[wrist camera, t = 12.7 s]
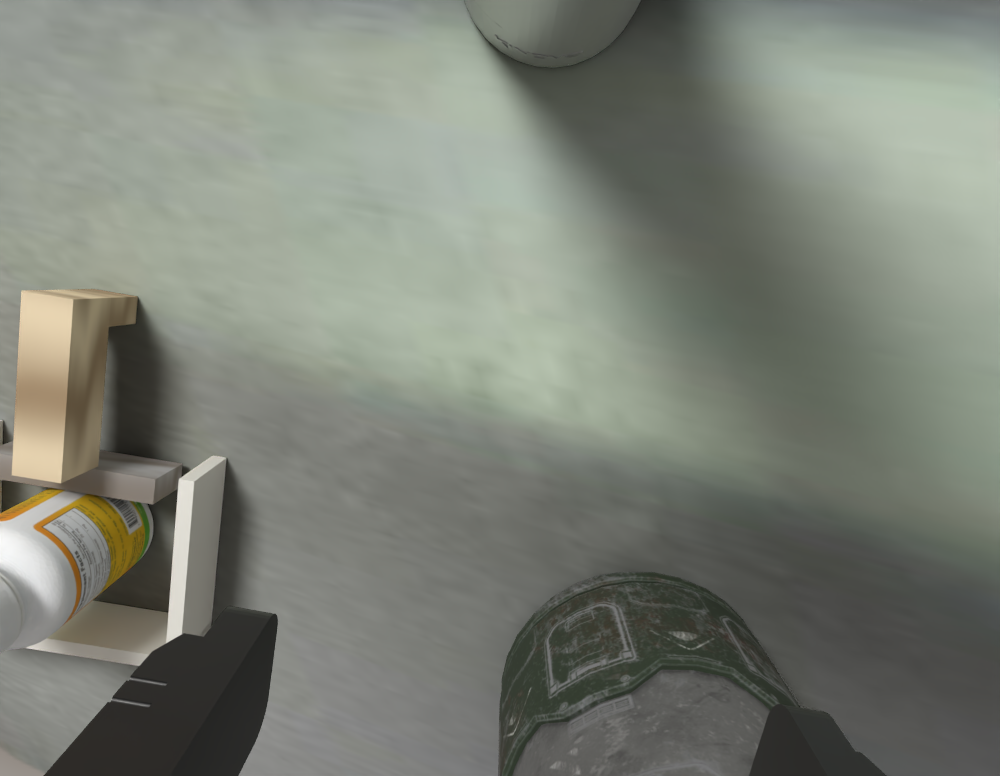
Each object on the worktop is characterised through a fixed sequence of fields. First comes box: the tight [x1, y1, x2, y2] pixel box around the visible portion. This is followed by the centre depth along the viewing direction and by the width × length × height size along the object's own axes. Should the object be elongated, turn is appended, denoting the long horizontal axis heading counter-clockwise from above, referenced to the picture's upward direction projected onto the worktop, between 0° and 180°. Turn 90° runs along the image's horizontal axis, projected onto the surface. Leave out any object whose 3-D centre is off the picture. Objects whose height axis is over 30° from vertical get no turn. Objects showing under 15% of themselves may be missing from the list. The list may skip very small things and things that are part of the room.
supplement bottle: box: [0, 488, 153, 654], centre depth 33 cm, size 6×6×11 cm
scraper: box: [0, 289, 183, 504], centre depth 34 cm, size 10×9×6 cm
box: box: [0, 420, 227, 666], centre depth 37 cm, size 11×14×4 cm
